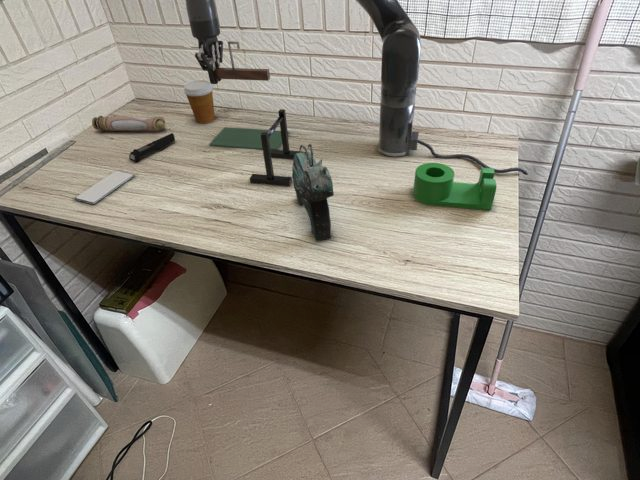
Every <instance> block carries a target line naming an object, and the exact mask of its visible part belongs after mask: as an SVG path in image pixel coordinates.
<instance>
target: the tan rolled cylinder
mask: <svg viewBox="0 0 640 480" xmlns="http://www.w3.org/2000/svg"><path fill="white" fill-rule="evenodd" d="M91 125H92V127H93V129H94V130H99V131H101V132H104V131H112V132H114V131H118V132H119V131H122V132H135V131H137V132H138V131H150V132H156V131H157V132H158V131H163V130H164V128H165V127H166V120H165V118H164V117H162V116H157V115H155V116H152V117H136V116H123V115H112V116H103V115H98V116H94V117H93V118H92V119H91Z"/></svg>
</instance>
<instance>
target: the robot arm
mask: <svg viewBox="0 0 640 480" xmlns="http://www.w3.org/2000/svg"><path fill="white" fill-rule="evenodd" d="M355 1H356V3H358V5H359V6H360V7H361V8H362V9H363V10H364V11H365V12H366V13H367V15H368V16H369V18H370V19H371V21H372V23H373V24H374V26H375V28H376V30H377V32H378V34H379V38H380V39H381V40H382V46H381V47H382V48H381V69H380V71H381V73H380V100H379V101H380V102H379V103H380V104H379V128H378V129H379V130H378V145H377V150H378V152H379V153H380V154H382V155H384V156H387V157H402V156H410V155H411V151H417V149H418V144H419V145H421V146H423V147H425V148H427V149H428V150H429V151H430V153H431V155H432V156H433V157H434V158H435V157H436V158H437V159H457V158H458V159H459V158H461V159H467V160H468V159H469V160H471V161H473V162H475V163H476V164H478V165H479V166H480V167H481V168H491V167H490V166H488V165H487V164H485V163H484V162H483V161H482V160H480V159H478V158H477V157H475V156H472V155H469V154H466V153H465V154H464V153H463V154H462V153H459V154H449V155H444V154H443V155H442V154H438V153H436V152H435V150H434V148H433V146H431V145H430V144H428V143H426V142H424V141H423V140H420V139H419V132H420V131H414V123H415V106H416V98H417V97H416V96H417V87H418V82H419V81H418V80H419V71H420V61H421V51H422V42H421V35H420V32H419V29H418V28H417V26H416V25H415V24H414V21H412V19H411V18H410V16H409V15H408V14H407V13H406V11H405V9H404V8H403V7H402V5H401V3H400V2H399V0H355ZM185 9H186V13H187V18H188V23H189V27H190V31H191V36H192V37H193V38H195V39H196V40H197V43H198V47H197V48H198V52H195V53H194V57H195V59H196V61H197V62H198V64H199V66H200V68H201V69H202V71H205V72H207V75H208V74H209V75H208V79H209V82H210V83H211V85H217V84H219V82H221V81H223V79H217V74H216V68H221V64H222V63H223V58H224V41H223V40H219V38H218V36H220V35H221V29H220V23H219V18H218V12H217V7H216V3H215V0H185ZM512 172H520V173H522V174H523V175H525V176H528V175H529V172H528V171H527V170H525V169H524V168H522V167H510V168H505V169H497V168H494V173H495V174H506V173H512Z"/></svg>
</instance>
